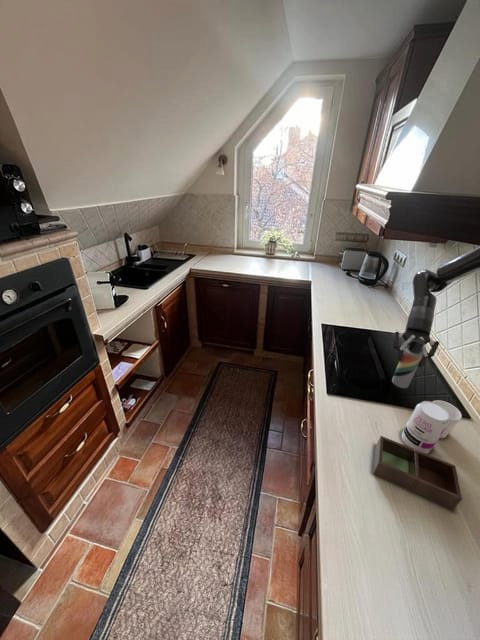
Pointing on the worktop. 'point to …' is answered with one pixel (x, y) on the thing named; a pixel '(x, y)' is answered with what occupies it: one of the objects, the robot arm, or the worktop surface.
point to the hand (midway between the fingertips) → (409, 363)
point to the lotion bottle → (408, 363)
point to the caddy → (417, 472)
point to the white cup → (453, 416)
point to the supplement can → (425, 426)
